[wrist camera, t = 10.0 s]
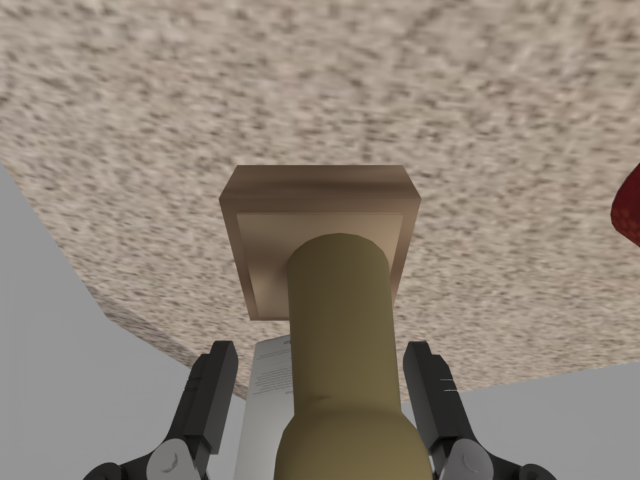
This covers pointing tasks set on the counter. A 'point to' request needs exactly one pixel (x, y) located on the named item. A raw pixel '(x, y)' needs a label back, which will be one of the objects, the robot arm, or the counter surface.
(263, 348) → the skincare box
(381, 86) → the counter surface
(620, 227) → the canned food
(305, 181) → the base
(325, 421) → the olive knobbed peg
